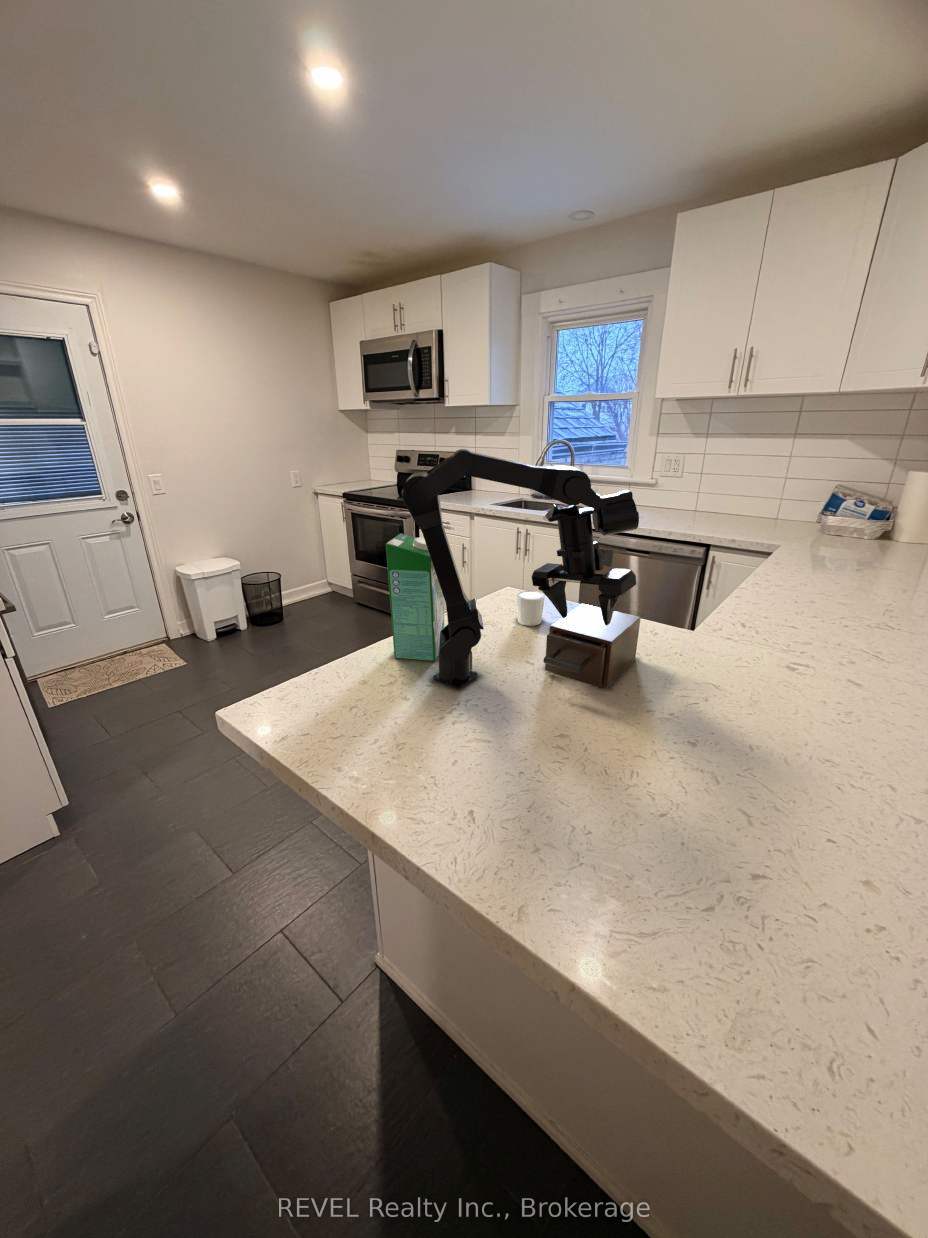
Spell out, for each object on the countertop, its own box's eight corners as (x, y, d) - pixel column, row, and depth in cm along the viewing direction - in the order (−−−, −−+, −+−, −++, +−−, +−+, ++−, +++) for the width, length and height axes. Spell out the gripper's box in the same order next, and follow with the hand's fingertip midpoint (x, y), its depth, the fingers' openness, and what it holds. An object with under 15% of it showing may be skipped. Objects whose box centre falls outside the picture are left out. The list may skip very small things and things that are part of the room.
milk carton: (435, 661, 104) (430, 544, 94) (394, 657, 105) (385, 542, 96) (445, 643, 112) (441, 533, 102) (407, 640, 113) (399, 532, 104)
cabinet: (606, 688, 92) (612, 641, 89) (547, 669, 100) (549, 625, 96) (635, 659, 103) (640, 616, 99) (579, 643, 110) (582, 603, 106)
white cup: (542, 616, 125) (544, 590, 123) (544, 627, 119) (545, 599, 116) (515, 615, 126) (516, 589, 123) (515, 626, 120) (516, 599, 117)
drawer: (587, 699, 87) (591, 660, 84) (532, 680, 94) (533, 643, 91) (627, 660, 101) (631, 625, 98) (575, 646, 107) (578, 612, 104)
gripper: (648, 528, 85) (653, 610, 91) (558, 526, 98) (568, 598, 104) (616, 548, 78) (623, 636, 84) (524, 544, 92) (536, 620, 98)
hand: (585, 620), depth 93 cm, fingers open, 9 cm apart
